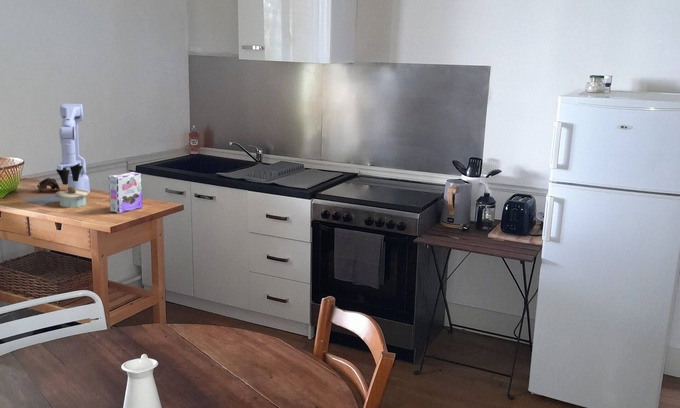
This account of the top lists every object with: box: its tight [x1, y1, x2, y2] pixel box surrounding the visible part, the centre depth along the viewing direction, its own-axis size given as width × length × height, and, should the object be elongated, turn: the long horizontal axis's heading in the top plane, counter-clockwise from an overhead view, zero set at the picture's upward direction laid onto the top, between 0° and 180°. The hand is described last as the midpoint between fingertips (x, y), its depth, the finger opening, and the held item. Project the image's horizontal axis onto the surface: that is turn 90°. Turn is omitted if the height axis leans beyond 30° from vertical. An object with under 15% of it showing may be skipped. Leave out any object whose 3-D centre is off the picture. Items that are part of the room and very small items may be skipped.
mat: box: [21, 193, 60, 206], centre depth 298 cm, size 16×16×1 cm
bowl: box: [59, 196, 87, 209], centre depth 291 cm, size 11×11×5 cm
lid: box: [54, 187, 89, 198], centre depth 290 cm, size 14×14×3 cm
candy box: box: [108, 171, 143, 214], centre depth 286 cm, size 14×6×16 cm, turn 148°
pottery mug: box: [36, 177, 62, 193], centre depth 315 cm, size 12×10×8 cm
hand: (70, 182), depth 290 cm, fingers open, 7 cm apart
